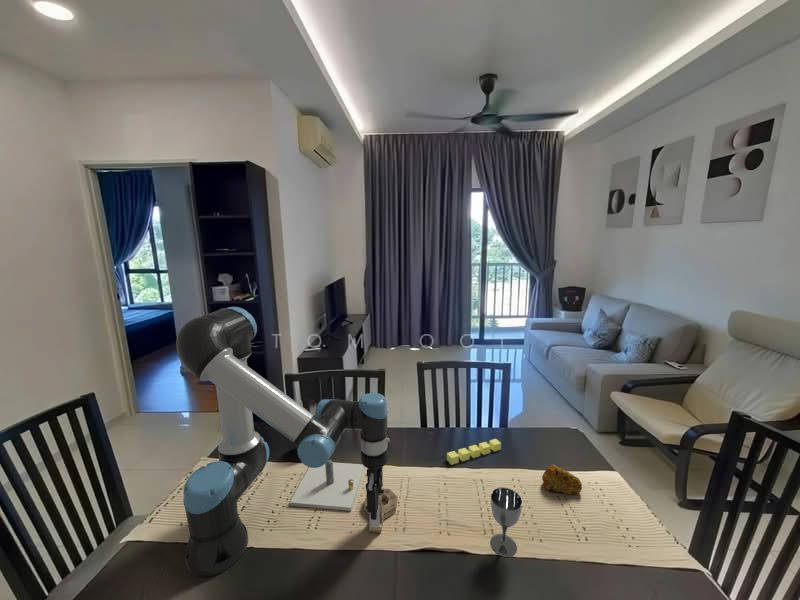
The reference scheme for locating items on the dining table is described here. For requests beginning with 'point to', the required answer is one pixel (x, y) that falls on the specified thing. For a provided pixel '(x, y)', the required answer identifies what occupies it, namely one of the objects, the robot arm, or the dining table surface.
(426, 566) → the dining table surface
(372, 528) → the tan nut with handle
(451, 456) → the yellow cube row
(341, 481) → the board
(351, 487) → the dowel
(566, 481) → the brown lumpy piece
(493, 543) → the wine glass
